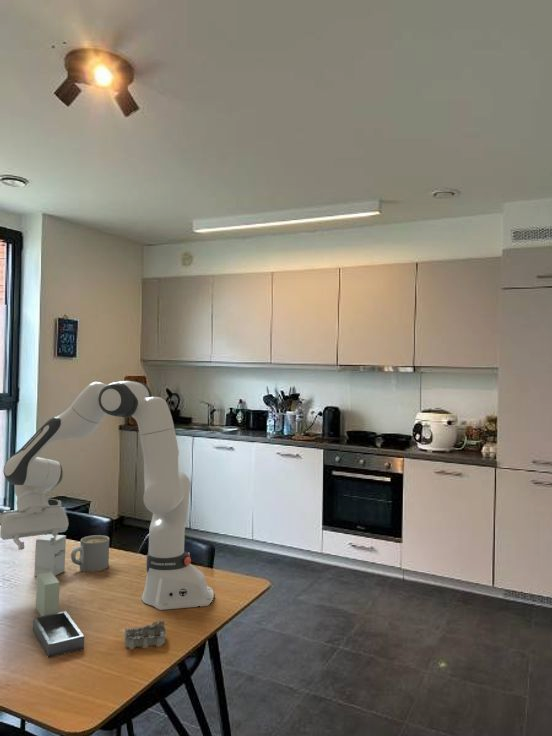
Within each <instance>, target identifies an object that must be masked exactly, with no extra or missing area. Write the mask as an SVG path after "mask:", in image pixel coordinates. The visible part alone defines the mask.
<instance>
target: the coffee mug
mask: <svg viewBox="0 0 552 736" xmlns="http://www.w3.org/2000/svg"><path fill="white" fill-rule="evenodd" d="M78 552H79V558H78V559H76V555H77V554H78ZM109 556H110V537H109V536H107V535H100V534H99V535H98V534H97V535H96V534H95V535H88V536H84V537H82V538H81V539H80V545H79V546H76V547H74V548H73V549H72V552H71V553H70V558H71V559H70V560H71V562H72V563H73V564H75V565H79V570H80V571H84V572H88V571H90V573H91V571H93V572H99V570H100V571H103V569H104V570H106V569H107V568H108V567H109V561H110V559H109V558H110V557H109ZM105 568H106V569H105Z"/></svg>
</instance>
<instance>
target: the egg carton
mask: <svg viewBox="0 0 552 736" xmlns="http://www.w3.org/2000/svg"><path fill="white" fill-rule="evenodd" d="M165 625H166V624H165V620H162V621H161V620H159V621H155V622H152V624H146V625H144V626H137V627H134V628H131V629H130V628H124V630H125V631H124V637H125V638H124V641H125V642H124V643H125V644H124V648H127V647H129V648H130V649H129V648H128V649H129V650H134V649H135V648H136V646H137V647H141V646H142V648H143V649H146V648H145V647H147V648H148V647H150V646H155V645H156V647H157V646H160V647H162V644H163V645H165V644H166V633H167V631H166V626H165ZM158 634H159V635H158ZM147 636H148V637H147ZM164 643H165V644H164ZM149 645H150V646H149ZM134 647H135V648H134ZM132 648H133V649H132Z"/></svg>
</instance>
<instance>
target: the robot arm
mask: <svg viewBox="0 0 552 736" xmlns="http://www.w3.org/2000/svg"><path fill="white" fill-rule="evenodd" d="M108 415H109V416H113V417H116V418H117V417H119V418H126V419H128V418H131V417H132V418H133V419H134V420H135V421H136V424H137V426H138V427H137V428H138V435H139V439H140V444H141V450H142V456H143V457H142V458H143V472H144V473H143V479H144V493H143V496H142V497H143V504H144V506H145V508H146V510H148V511H149V512H150V513H152V517H151V521H150V525H149V529H148V530H149V531H148V532H149V533H148V552H147V553H146V561H145V562H146V564H145V569H146V579H145V584H144V589H143V593H142V596H141V601H142V602H143V603H144V604H146V605H148V606H152V607H155V609H158V610H160V611H163V610H172V609H173V610H175V609H176V610H177V609H185V608H186V609H187V608H197V607H198V606H200V607H206V606H209V605H210V603H211V602H212V603H213V601H214V599H213V598H215V594H214V590H213V588H212V587H210V586H208V583H207V582H208V581H207V579H206V577H205V574H204V573H203V572H202V571H201V570H199V568H197V567H196V566H194V565H192V564H191V562H192V559H191V555H190V552H189V551H188V552H187V551H185V531H186V521H187V515H188V509H189V500H190V499H189V498H190V491H191V481H190V478H189V476H187V474H185V473H184V472H183V471H180V470H179V453H180V452H179V451H180V450H179V446H178V441H177V439H178V438H177V435H176V430H175V425H174V420H173V416H172V413H171V410H170V408H169V406H168V403H167V401H166V400H165V399H164V398H162V397H160V396H153V392H152V390H151V388H150V387H149V386H148V385H147V384H146V383H145V382H144V383H143V382H142V381H135V380H134V381H131V380H121V381H115V382H114V381H113V382H111V383H108V384H106V383H103V382H100V381H93V382H92V383H89V384H88V385H87V386H86V387H85V388H84V389H83V390H82V391H81V392H80V393H79V394H78V395H77V396H76V397H75V399H74V400H73V402H72V403H71V405H70V406H69V407H68V408H67V409H65V411H63V412H62V413H60V414H59V415H56V416H55V417H51V418H49V419H48V420H47V421H46V422H45V423H44V424H43V425H42V426H41V427H40V428H39V429H38V430H37V431H36V432H35V433H34V434H33V436H31V437H30V439H28V440H27V442H25V444H24V445H22V447H21V448H20V449H19V450H18V451H16V452H15V453H14V454H12V455H11V456H10V457H9V458H8V459H7V460H6V462H5V464H4V466H3V475H4V478H5V479H6V481H7V482H8V483H9V484H10V485H11V486H13V485H14V493H15V496H16V510H9V511H8V510H7V511H6V510H4V511H2V513H1V512H0V539H2V540H3V541H6V540H13V542H14V544H15V545H17V547H18V551H21V550H24V549H25V542H24V541H21V540H20V539H23V538H29V537H36V536H45V535H47V534H52V535H53V536H54V538H51V539H50V545H56V537H57V535H59V533H65V532H66V531H67V530H68V527H69V518H68V515H67V513H66V510H65V509H64V508H63V507H62V500H60V499H59V500H58V499H53V498H48V497H46V496H45V494H46V493H49V492H51V491H52V490H53V489H55V488H56V487H57V486H58V485H59V484H60V483H61V482H62V481H63V477H64V476H63V474H64V471H63V466H62V464H61V463H60V462H59V461H57V460H54V459H49V458H46V457H45V458H44V457H40V455H41V453H43V452H44V450H46V448H48V446H49V445H51V444H52V443H55V442H56V441H57V442H58V441H62V440H70V439H72V440H73V439H74V440H75V439H82V438H87V437H89V436H91V435H92V434H93V433H94V432H95V431H96V430H97V429H98V427H100V425H101V423H102V422H103V420H104V419H105V418H106V416H108ZM212 600H213V601H212ZM212 603H211V604H212Z"/></svg>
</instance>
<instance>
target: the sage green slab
mask: <svg viewBox="0 0 552 736" xmlns="http://www.w3.org/2000/svg"><path fill="white" fill-rule="evenodd" d="M59 605H60V581H59V580H58V578H57V577H56V576H54V575H53V573H52V572H46V573H40V574H37V576H36V597H35V608H36V610H37V612H38V613H39V615H40V616H45V615H49V614H54V613H59V612H60V611H59V610H60V608H59V607H60V606H59Z"/></svg>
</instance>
